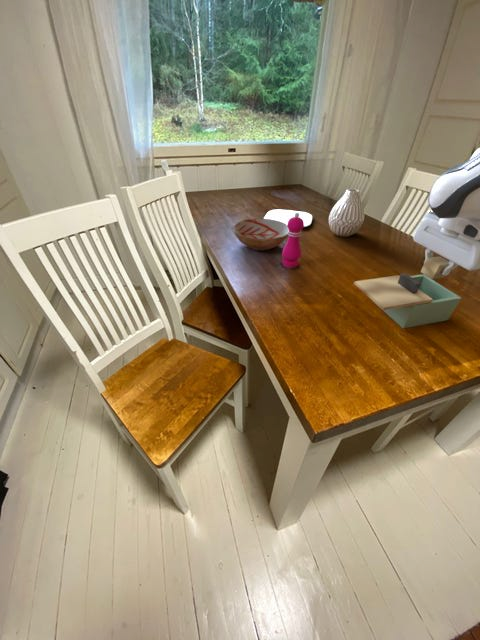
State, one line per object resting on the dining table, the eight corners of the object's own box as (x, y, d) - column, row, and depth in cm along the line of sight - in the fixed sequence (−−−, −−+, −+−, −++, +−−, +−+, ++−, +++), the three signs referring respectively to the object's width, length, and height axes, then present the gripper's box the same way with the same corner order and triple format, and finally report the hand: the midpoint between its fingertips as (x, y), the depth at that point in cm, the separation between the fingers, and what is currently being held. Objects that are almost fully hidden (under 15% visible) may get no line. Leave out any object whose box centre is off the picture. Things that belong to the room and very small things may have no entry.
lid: (431, 301, 74) (438, 290, 72) (383, 310, 71) (388, 298, 69) (397, 277, 85) (402, 266, 82) (353, 283, 82) (357, 272, 79)
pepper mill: (277, 263, 109) (282, 212, 97) (289, 258, 113) (295, 208, 100) (291, 270, 105) (298, 217, 92) (302, 264, 109) (311, 213, 96)
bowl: (243, 231, 135) (243, 215, 130) (293, 239, 129) (295, 222, 124) (224, 252, 117) (223, 234, 112) (281, 261, 110) (283, 243, 105)
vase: (323, 227, 141) (331, 185, 129) (353, 228, 141) (365, 186, 128) (329, 239, 129) (339, 194, 116) (363, 240, 128) (377, 195, 116)
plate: (313, 215, 156) (313, 212, 155) (309, 231, 137) (310, 227, 136) (269, 211, 161) (269, 208, 160) (260, 225, 142) (260, 222, 141)
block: (444, 277, 77) (452, 263, 74) (432, 279, 76) (439, 265, 73) (432, 270, 80) (439, 256, 77) (420, 271, 79) (427, 257, 76)
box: (447, 320, 82) (461, 298, 77) (403, 328, 78) (414, 306, 73) (413, 294, 92) (423, 274, 87) (372, 301, 89) (381, 280, 84)
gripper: (419, 208, 75) (400, 254, 84) (489, 236, 60) (456, 289, 69) (437, 207, 77) (417, 252, 85) (510, 233, 61) (476, 286, 70)
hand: (435, 269), depth 77 cm, fingers closed on block, 4 cm apart
